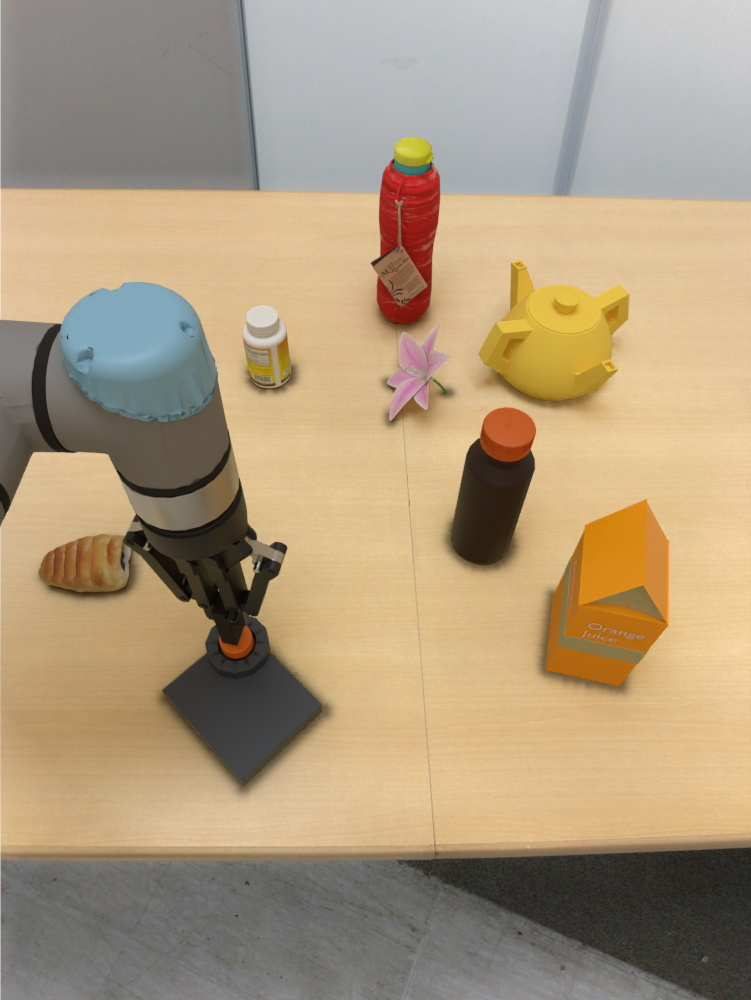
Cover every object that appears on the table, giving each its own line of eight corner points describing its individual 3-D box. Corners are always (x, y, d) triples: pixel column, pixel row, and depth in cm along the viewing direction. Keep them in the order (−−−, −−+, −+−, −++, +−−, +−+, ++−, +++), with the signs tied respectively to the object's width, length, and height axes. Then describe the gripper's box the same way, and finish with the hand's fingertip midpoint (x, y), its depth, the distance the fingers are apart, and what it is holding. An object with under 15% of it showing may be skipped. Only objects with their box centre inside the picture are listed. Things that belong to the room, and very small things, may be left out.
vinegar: (440, 525, 85) (460, 410, 69) (492, 507, 87) (524, 391, 70) (466, 573, 82) (493, 464, 65) (520, 554, 83) (560, 443, 67)
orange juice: (623, 610, 80) (693, 506, 63) (620, 687, 75) (694, 596, 58) (551, 595, 81) (600, 488, 64) (543, 670, 76) (594, 576, 59)
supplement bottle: (283, 355, 100) (277, 295, 92) (297, 383, 98) (291, 324, 89) (244, 366, 99) (233, 306, 91) (256, 395, 96) (246, 336, 88)
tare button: (214, 644, 73) (212, 637, 72) (239, 623, 75) (237, 616, 73) (235, 665, 72) (232, 659, 71) (260, 644, 73) (258, 637, 72)
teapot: (469, 390, 97) (482, 321, 88) (502, 310, 106) (517, 239, 97) (596, 426, 94) (624, 358, 85) (618, 341, 103) (646, 270, 93)
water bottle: (414, 354, 101) (428, 186, 80) (359, 339, 102) (359, 171, 82) (439, 298, 108) (458, 130, 87) (387, 285, 109) (394, 117, 88)
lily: (407, 356, 102) (376, 317, 94) (487, 354, 96) (461, 312, 88) (386, 434, 99) (352, 401, 91) (467, 438, 93) (438, 402, 85)
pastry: (40, 602, 79) (27, 585, 76) (48, 548, 83) (35, 529, 80) (130, 592, 80) (121, 575, 77) (133, 539, 84) (125, 520, 81)
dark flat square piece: (159, 689, 74) (151, 676, 71) (245, 618, 78) (241, 603, 76) (243, 786, 69) (238, 776, 66) (330, 703, 73) (329, 691, 70)
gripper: (291, 464, 53) (310, 610, 72) (120, 431, 54) (184, 583, 74) (259, 552, 49) (288, 683, 68) (74, 514, 50) (155, 652, 70)
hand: (234, 631), depth 71 cm, fingers closed
